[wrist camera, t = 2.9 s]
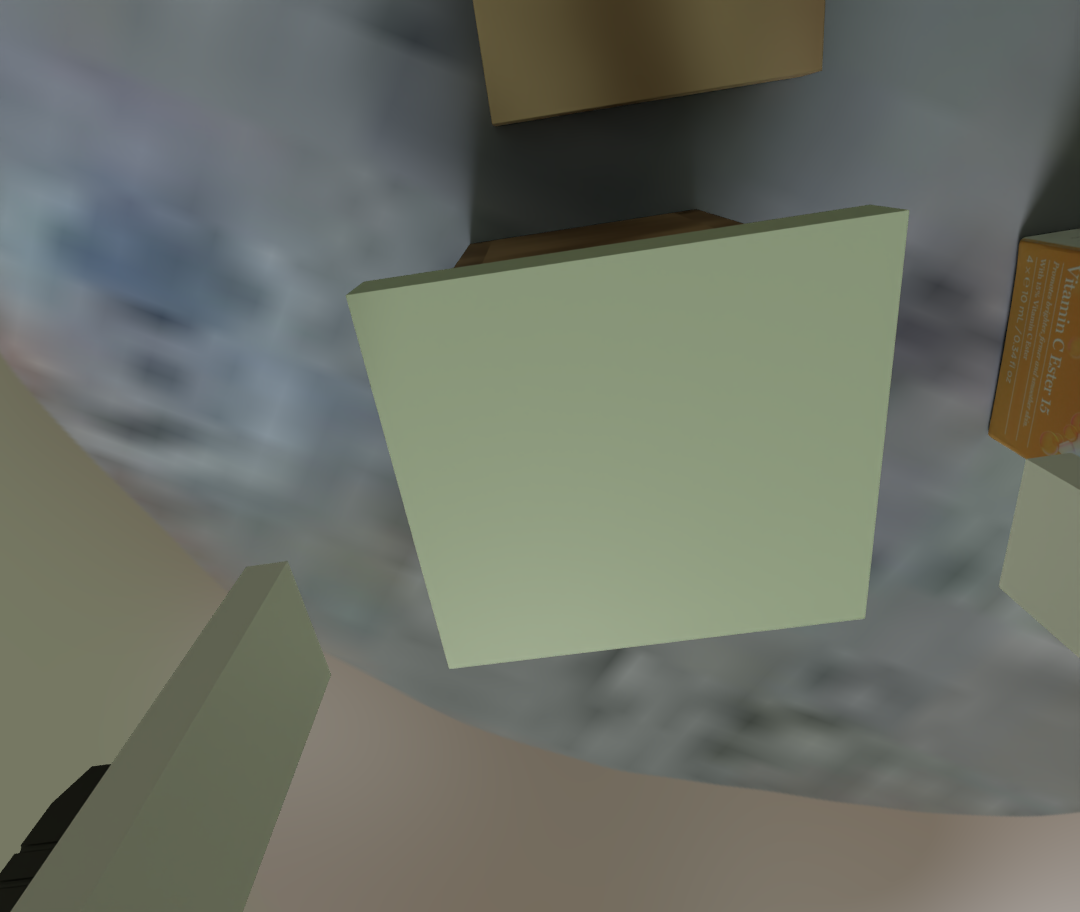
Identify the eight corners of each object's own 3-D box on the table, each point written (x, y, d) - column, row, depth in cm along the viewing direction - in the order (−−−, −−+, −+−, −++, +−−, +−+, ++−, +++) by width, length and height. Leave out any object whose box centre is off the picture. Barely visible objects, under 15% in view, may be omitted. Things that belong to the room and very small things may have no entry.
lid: (838, 200, 14) (909, 210, 12) (816, 552, 19) (864, 618, 16) (379, 270, 15) (345, 295, 12) (460, 597, 19) (449, 668, 17)
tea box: (696, 209, 22) (797, 240, 13) (703, 442, 25) (785, 575, 17) (469, 243, 22) (435, 294, 14) (511, 468, 26) (503, 610, 18)
